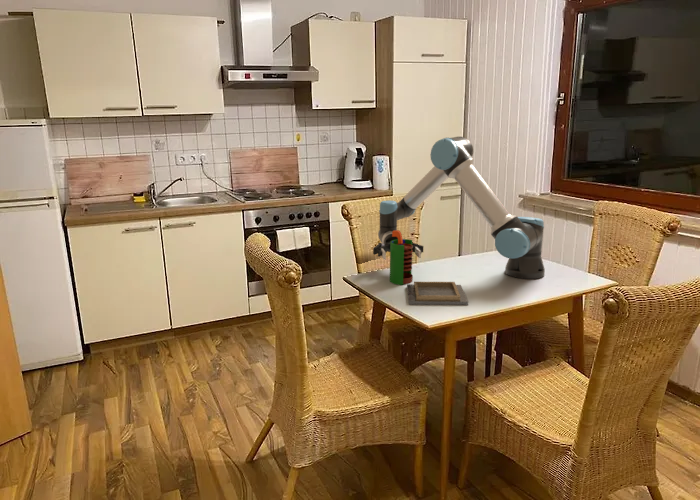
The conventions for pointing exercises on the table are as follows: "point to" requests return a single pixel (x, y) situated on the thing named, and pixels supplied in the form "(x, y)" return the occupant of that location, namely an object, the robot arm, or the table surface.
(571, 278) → the table surface
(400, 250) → the green cylindrical holder
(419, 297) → the plate
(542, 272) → the robot arm
